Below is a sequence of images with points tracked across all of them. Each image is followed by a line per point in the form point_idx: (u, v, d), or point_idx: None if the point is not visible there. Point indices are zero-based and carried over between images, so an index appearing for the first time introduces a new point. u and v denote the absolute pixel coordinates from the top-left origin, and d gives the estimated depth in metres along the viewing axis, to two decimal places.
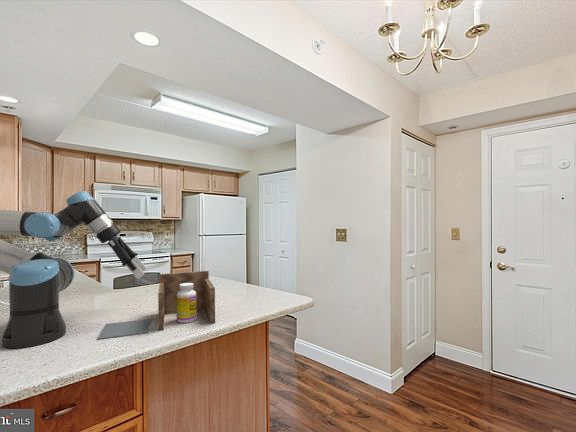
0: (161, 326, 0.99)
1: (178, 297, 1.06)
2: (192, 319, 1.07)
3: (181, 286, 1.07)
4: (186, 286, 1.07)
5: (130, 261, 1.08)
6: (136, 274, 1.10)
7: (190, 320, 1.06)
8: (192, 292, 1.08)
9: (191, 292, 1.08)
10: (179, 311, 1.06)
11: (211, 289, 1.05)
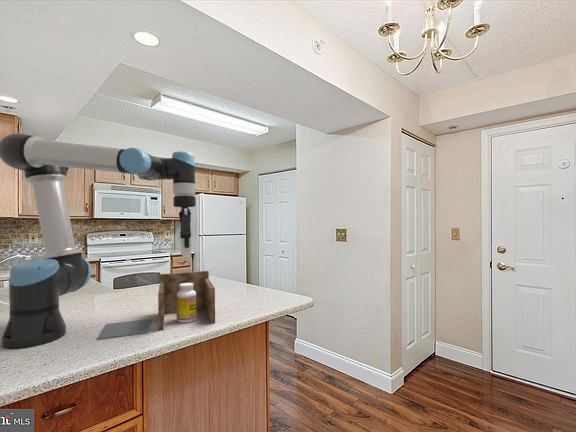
0: (161, 326, 0.99)
1: (178, 297, 1.06)
2: (192, 319, 1.07)
3: (181, 286, 1.07)
4: (186, 286, 1.07)
5: (188, 237, 1.02)
6: (184, 252, 1.02)
7: (190, 320, 1.06)
8: (192, 292, 1.08)
9: (191, 292, 1.08)
10: (179, 311, 1.06)
11: (211, 289, 1.05)
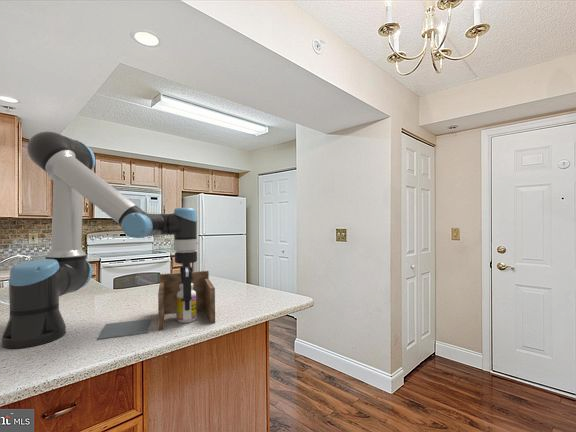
0: (161, 326, 0.99)
1: (178, 297, 1.06)
2: (192, 319, 1.07)
3: (181, 286, 1.07)
4: None
5: (189, 300, 1.05)
6: (185, 315, 1.05)
7: (190, 320, 1.06)
8: (192, 292, 1.08)
9: (191, 292, 1.08)
10: (179, 311, 1.06)
11: (211, 289, 1.05)
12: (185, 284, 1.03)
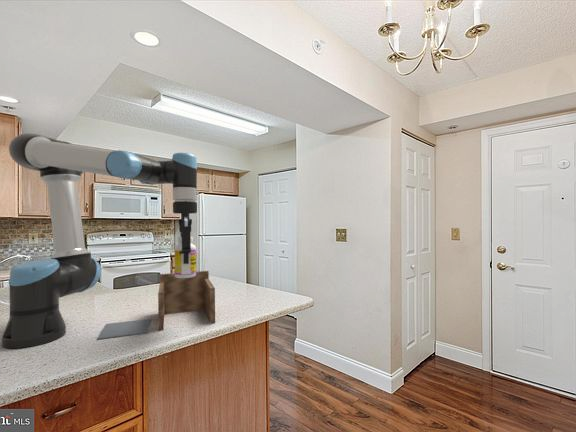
0: (161, 326, 0.99)
1: (176, 250, 0.97)
2: (191, 274, 0.98)
3: (180, 238, 0.98)
4: None
5: (188, 253, 0.96)
6: (183, 269, 0.96)
7: (189, 275, 0.97)
8: (192, 246, 0.98)
9: (191, 245, 0.98)
10: (177, 265, 0.97)
11: (211, 289, 1.05)
12: (184, 234, 0.94)
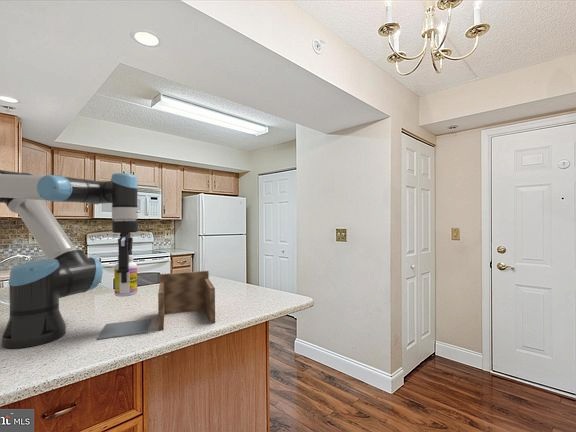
0: (161, 326, 0.99)
1: (115, 269, 0.99)
2: (131, 293, 0.99)
3: None
4: None
5: (126, 272, 0.97)
6: (122, 288, 0.97)
7: (128, 294, 0.99)
8: (131, 264, 1.00)
9: (130, 264, 1.00)
10: (116, 284, 0.98)
11: (211, 289, 1.05)
12: (120, 254, 0.95)
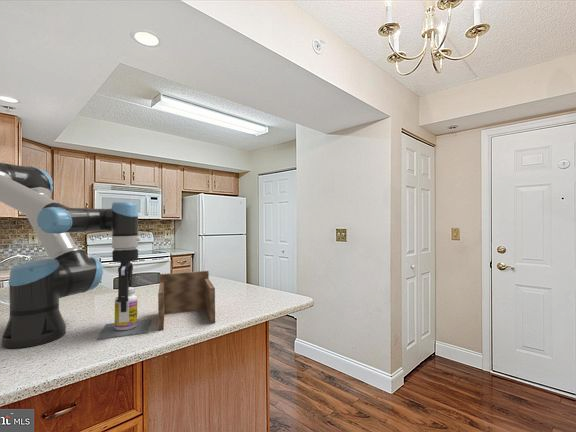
0: (161, 326, 0.99)
1: (116, 302, 0.99)
2: (131, 326, 0.99)
3: None
4: None
5: (126, 301, 0.96)
6: (121, 317, 0.96)
7: (128, 327, 0.99)
8: (131, 298, 1.00)
9: (130, 297, 1.00)
10: (116, 318, 0.98)
11: (211, 289, 1.05)
12: (120, 283, 0.94)
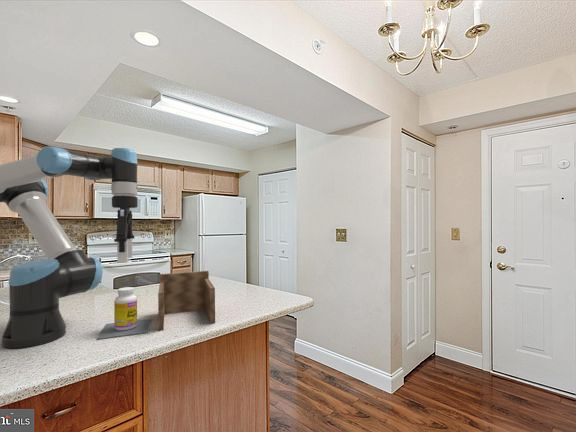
0: (161, 326, 0.99)
1: (115, 303, 0.98)
2: (131, 326, 0.99)
3: (119, 291, 0.99)
4: (124, 291, 0.99)
5: (124, 241, 0.94)
6: (120, 257, 0.94)
7: (128, 327, 0.99)
8: (131, 298, 1.00)
9: (130, 297, 1.00)
10: (116, 318, 0.98)
11: (211, 289, 1.05)
12: (119, 223, 0.94)
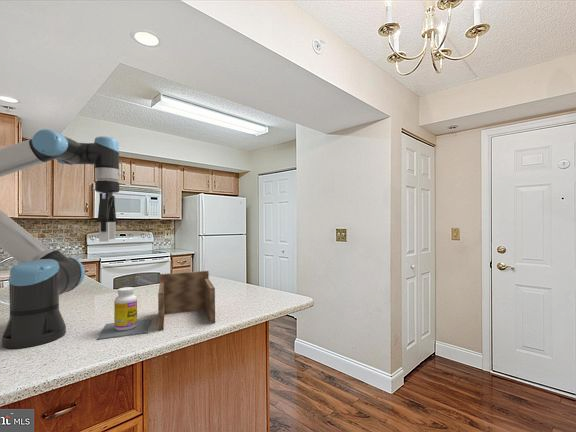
0: (161, 326, 0.99)
1: (115, 303, 0.98)
2: (131, 326, 0.99)
3: (119, 291, 0.99)
4: (124, 291, 0.99)
5: (105, 221, 1.03)
6: (101, 236, 1.03)
7: (128, 327, 0.99)
8: (131, 298, 1.00)
9: (130, 297, 1.00)
10: (116, 318, 0.98)
11: (211, 289, 1.05)
12: (101, 205, 1.02)
